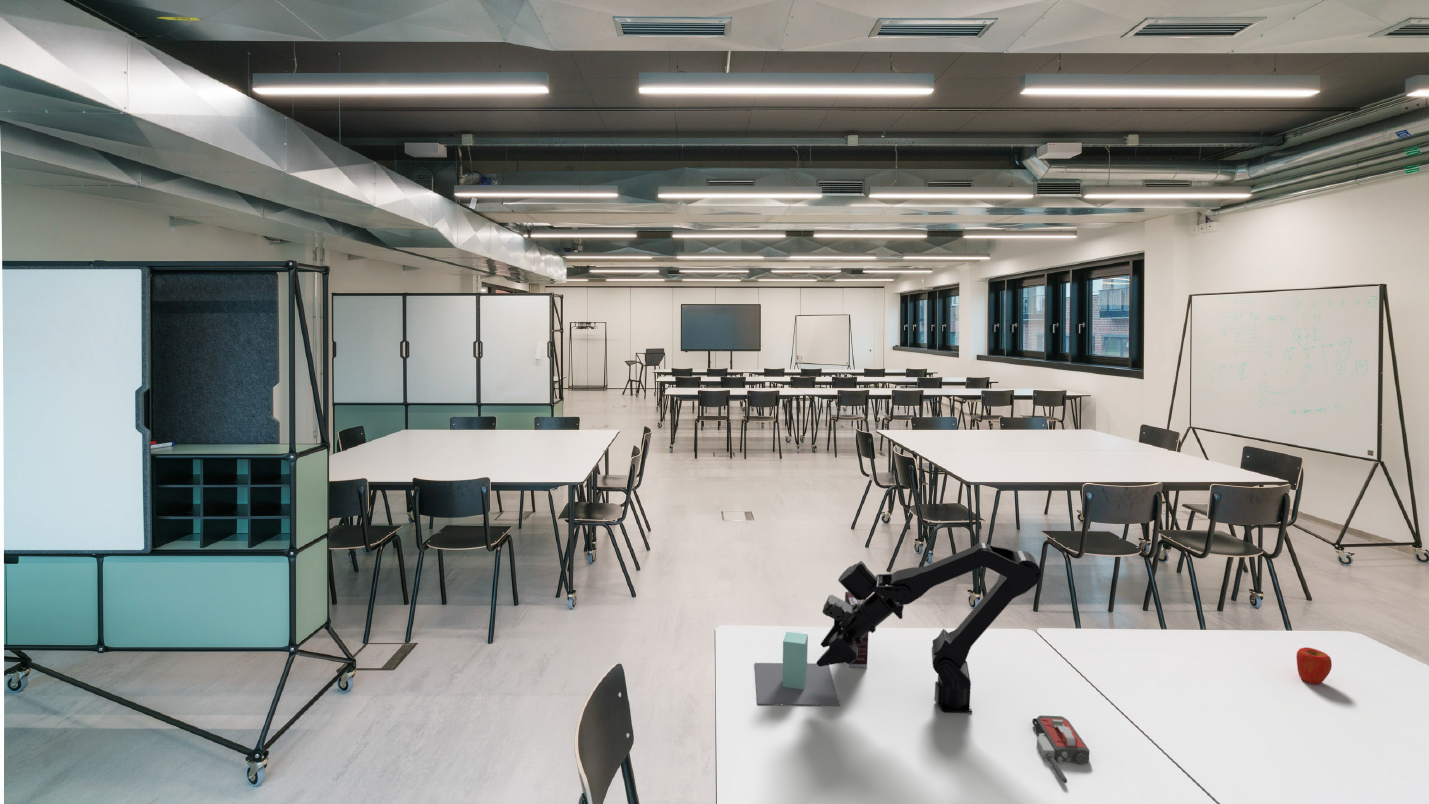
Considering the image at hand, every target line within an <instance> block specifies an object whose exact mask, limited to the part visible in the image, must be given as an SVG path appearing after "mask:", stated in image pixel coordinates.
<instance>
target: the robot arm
mask: <svg viewBox="0 0 1429 804" xmlns="http://www.w3.org/2000/svg"><path fill="white" fill-rule="evenodd" d="M983 567H984V568H986V569H990V570H991V571H994V572H995V573H997V574H999V576H998V578H997V580H996V581H995V583H994V585H993V586H992V587H991V588H990V589H989V591H987V593H985V595H984V596H983V598H981V600H980V601H979V602H978V603H977V605H975V606H974V608H973V609H972V610H971V611H970V613H968V615H967V616H966V617H965V618H964V619H963V621H962V622H961V623H960V624H959V625H958V626H957V627H956V629H954V630H952V631H950V632H948V631H947V630H946V629H944V628H943V629H942V630H941V632H940V633H939V635H937V637H936V638H935V639H933V640H932V646H931V660H932V661H931V662H932V663H931V664H932V669H933V670H934V671H935V672H934V673H936V674H937V680H936V681H935V684H934V700H935V701H936V703H937V705H938V706H939V709H941V712H943V713H972V712H973V707H972V706H971V704H970V703H971V689H972V688H971V686H972V685H971V684H972V681H971V677H970V672H969V666H968V661H967V658H968V656H969V653H970V650H971V648H972V647H973V645H974V644H975V643H976V642H977V640H978V639H979V638H980V637H981V636H982V635H983V634H984V633H985V631H986V630H987V629H988V628H990V626H991V625H992V623H993V622H994V621H995V620H996V619H997V618H998V616H999V615H1000V614H1001V613H1002V612H1003V611H1004V610H1005V609H1006V608H1007V606H1008V605H1009V604H1010V603H1011V602H1012V601H1013V600H1014V599H1015V598H1017V597H1019V596H1022V595H1024V594H1026V593H1028V592H1029V591H1030V590H1031V589H1032V588H1034V587H1035V586H1036V585H1037V584H1038V583H1039V582H1040V580H1041V579H1042V572H1041V568H1040V567H1039V565H1038V562H1037V561H1036V558H1035V556H1034V555H1032V553H1031V552H1028V551H1025V550H1018V551H1017V550H1012V549H1009V548H1006V547H1001V546H995V545H992V544H989V543H987V542H978V543H976V544H974V546H971V547H968V548H966V549H963V550H962V551H959V552H957V553H954V554H951V555H950V556H946V557H945V558H942V559H940V560H938V561H935V562H932V563H930V564H928V565H925V566H919V567H917V566H915V567H908V568H907V567H906V568H903V569H899V570H896V571H894V572H893V573H882V574H881V573H879V574H876V575H874V574H873V572H872V571H870V569H869V568H868V567H867V565H866V564H865V563H864V562H863V561H862V560H860V561H859V562H857V563H854V564H852V565H850V566H848V567H847V568H846V570H844V571H843V572H842V573H841V574H840V576H839V577H838V579H837V582H839V583H840V585H842V587H844V589H845V590H846V592H849V593H850V594H851V595H852V596H853V597H854V598H855V599H856V600H857V599H859V600H860V601H861V600H865V599H866V600H865V601H864V602H863V603H861V604H859V603H855V604H854V605H853V606H851V605H849V604H848V603H846V602H845V600H843V599H841V598H839V597H837V596H835V595H834V594H829V595H828V597H827V599H826V601H825V603H824V605H823V608H822V614H823V615H825V616H826V617H830V618H831V619H833V625H832V627H831V628H830V630H829V631H828V633H827V634H826V636H824V638H823V640H822V641H821V642H820V646H821V647H822V648H827V649H826V650H825V652H824V653H823V654H822V655H821V656H820V658H818V660H817V661H816V663H815V664H817V665H818V666H819V667H821V666H826V665H829V666H830V665H837V664H846V665H848V664H850V665H851V664H852V663H853V662H855V661H856V660H857V653H858V647H857V646H856V645H855V644H854V643H853V641H854V640H855V641H856V642H857V643H858V644H860V643H861V642H862V638H863V637H864V636H865V635H866V634H868V635H869V634H870V633H871V634H873V633H875V632H876V630H877V626H878V625H880V624H881V623H883V622H884V621H885V620H886V619H888V618H889V617H890V616H891V615H892V614H894V615H895V616H896V617H897V618H898V619H900V620H902V619H903V610H904V607H905V606H906V605H910V604H912V603H913V602H915V601H916V600H918V599H920V598H921V597H923V596H924V595H925V594H926V593H927V592H928V591H929V590H930V589H933V588H934V587H935V586H939V585H941V584H943V583H947V582H948V581H950V580H953V579H955V578H959V577H961V576H964V575H965V574H968V573H970V572H973V571H975V570H977V569H980V568H983Z"/></svg>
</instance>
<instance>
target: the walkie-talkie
mask: <svg viewBox="0 0 1429 804" xmlns="http://www.w3.org/2000/svg"><path fill="white" fill-rule="evenodd" d="M1031 724H1032V725H1033V726H1034V728H1035V730H1036V731H1037V734H1038V733H1039V734H1038V737H1037V739H1036V748H1037V750H1038V751H1039V753H1040V755H1041V759H1043V760H1047V761H1048V762H1049V763H1050V765H1051V767H1052V768H1053V770H1054V771H1055V773H1056V774H1057V776H1058V777H1059V779H1060V781H1061V782H1063V784H1067V783H1068V779H1067V777H1066V776H1065V774H1064V772H1063V770H1062V769H1061V768H1060V766H1059V763H1061V764H1062V763H1065V762H1067V763H1077V764H1079V765H1083V764H1085V763H1087V764H1089V763H1090V753H1091V752H1090V749H1089V747H1088V746H1087V744H1086V743H1085V742H1084V739H1082V738H1081V737H1080V735H1079V734H1078V732H1077V731H1076V729H1075V728H1074V726H1073V725H1072V723H1071V722H1070V721H1069V720H1068V719H1067V718H1066V717H1064V716H1061V715H1041V714H1040V715H1038V716H1037V717H1035V718H1032V721H1031ZM1057 762H1059V763H1057Z"/></svg>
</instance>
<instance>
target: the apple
mask: <svg viewBox="0 0 1429 804" xmlns="http://www.w3.org/2000/svg"><path fill="white" fill-rule="evenodd" d="M1296 666H1297V672H1298V675H1299V678H1300V679H1301V680H1303V681H1304V682H1306V683H1309V684H1312V685H1319V684H1321V683H1323V682H1324V681H1325V680H1326V678H1328V676H1329V674H1330V672H1331V670H1332V666H1333V664H1332V659H1331V656H1330V655H1328V654H1327V653H1326V652H1324V651H1321V650H1319V649H1316V648H1312V647H1301V648H1299V649H1298V650H1297V652H1296Z"/></svg>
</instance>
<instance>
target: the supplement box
mask: <svg viewBox="0 0 1429 804" xmlns="http://www.w3.org/2000/svg"><path fill="white" fill-rule="evenodd" d="M866 599H867V598H866ZM866 599H865V600H866ZM865 600H861V601H860V600H859V599H857V600H856V599H855V598H854V597H853V596H852V595H851V594H850V593H849V592H848V591H845V594H844V601H845V602H846V603H848V604H849V605H851V606H853V605H854V604H855V603H859V604H861V603H863V602H864V601H865ZM853 643H854V644H855V645H856V646H857V647H858V653H857V660H856V661H855V662H853V663H852V664H851V665H850V664H847V665H848V666H847V667H848V668H867V667H868V653H869V652H868V651H869V650H868V649H869V633H868V634H866V635H865V636H864V637H863V638H862V642H861V643H860V644H858V643H857V642H856V641H855V640H854V641H853Z"/></svg>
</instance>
